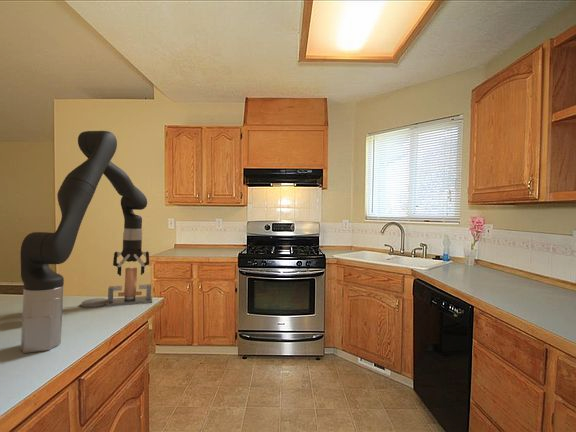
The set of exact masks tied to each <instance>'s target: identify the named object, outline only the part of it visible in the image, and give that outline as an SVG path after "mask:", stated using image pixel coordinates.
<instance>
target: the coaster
mask: <svg viewBox="0 0 576 432" xmlns="http://www.w3.org/2000/svg"><path fill="white" fill-rule="evenodd" d="M106 303H108V298H104V297H103V298H101V297H100V298H99V297H98V298H91V299H86V300H83V301H82V302H81V307H82V308H84V309H85V308H87V309H94V308H95V309H96V308H101V307H107V306H106Z"/></svg>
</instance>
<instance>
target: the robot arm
mask: <svg viewBox="0 0 576 432" xmlns="http://www.w3.org/2000/svg"><path fill="white" fill-rule="evenodd" d="M77 146H78V147H79V148H78V149H80V151H81V152H82V154H84V156H85V157H86V158H87V159H86V160H84V161H83V162H82V163H81V164H79V165H78V166H77V167H75V168H74V169H73V170H71V171H70V172H69V173H68V174H66V176H65V177H64V179H63V181H62V182H61V185H60V187H59V189H58V191H57V194H56V195H57V202H58V206H59V210H60V213H61V219H60V222H59V224H58V227H57V228H56V231H54V232H46V231H45V232H43V231H34V232H30V233H28V234H27V235H25V237H24V238H23V240H22V242H21V246H20V278H21V281H22V284H23V291H22V292H23V293H22V295H23V296H22V311H21V312H22V314H21V320H22V321H21V338H20V339H21V340H20V351H22V353H23V354H29V353H35V352H36V353H37V352H42V351H43V352H44V351H50V350H52V349H53V348H56V347H57V346H59V345H60V344H61V343H62V324H63V304H64V303H63V302H64V286H65V285H64V282H65V280H64V276H63V275H62V274H60V273H57V272H56V271H53V270H52V269H51V267H50V266H49V265H61V264H62V265H63V264H64V263H65V262H67V260H69V257H70V256H71V254H72V252H73V249H74V247H75V243H76V240H77V237H78V233H79V231H80V228H81V225H82V222H83V220H84V217H85V215H86V213H87V210H88V207H89V205H90V204H91V202H92V199H93V197H94V194H95V193H96V190H97V187H98V185H99V183H100V181H101V179H102V176H103V175H104V177H106V179H107V180H108V181H109V182H110V184H111V186H112V187H113V188H114V190H115V191H116V192H117V194H118V195H119V196H121V198H120V207H121V210H122V214H123V215H122V216H123V219H124V223H123V233H122V251H115V252H114V253H113V260H112V261H113V262H112V266H114V267H117V275H118V276H119V277H120V276H122V265H124V264H125V262H128V263H130V262H132V263H133V262H134V263H135V262H138V263H139V264H140V265H141V266H140V275H141V276H143V274H145V267H147V266H149V265H150V252H149V251H142V250H143V249H142V247H143V244H142V243H143V217H142V216H141V215H139V214H136V213H134V210H135V211H136V210H137V211H139V210H140V211H141V210H142V211H143V210H144V209H146V207H147V205H148V199H147V196H146V195H145V193H143V192H142V191H141V190H140V189H139V188H138V187H137V186H136V185H135V184H134V183H133V181H132V180H131V178H130V175H128V173H127V172H125V171H124V170H123V169H122V168H120V167H119V166H117V165H116V164H114V163H113V162H112V159H113V157H114V156H115V154H116V151H117V148H118V147H117V146H118V141H117V137H116V135H115V134H114V133H113V132H111V131H108V130H86V131H82V132H80V133H79V134H78V137H77ZM142 255H143V257H145V262H144V261H143V260H142V259H141V257H142ZM120 256H122V260H121V261H120V262H119V263H118V258H119V257H120Z"/></svg>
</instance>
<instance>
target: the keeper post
mask: <svg viewBox="0 0 576 432" xmlns="http://www.w3.org/2000/svg"><path fill="white" fill-rule="evenodd" d="M107 289H108V290H107V299H108V303H106V306H105V307H110V306H111V307H114V306H126V305H128V304H129V305H137V304H138V305H140V304H139V303H143V304H152V303H153V296H152V284H151V283H149V284H138V290H146V294H145V296H137V295H135V296H130V297H127V296H123V297H118V298H117V297H116V298H114V295H115V294H114V291H115V292H117V291H122V289H123V285H110V286H108V288H107Z"/></svg>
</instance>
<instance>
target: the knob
mask: <svg viewBox="0 0 576 432" xmlns="http://www.w3.org/2000/svg"><path fill="white" fill-rule="evenodd" d="M124 271H125V272H124V274H125V275H124V291H123V292H118V295H117V296H118V297H124V296H127V297H130V296H135V295H136V296H142V295H143V294H142V293H143V292H142V291H140V290H139V291H137V278H138V277H137V276H138V267H134V266H130V267H125V270H124Z"/></svg>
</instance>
